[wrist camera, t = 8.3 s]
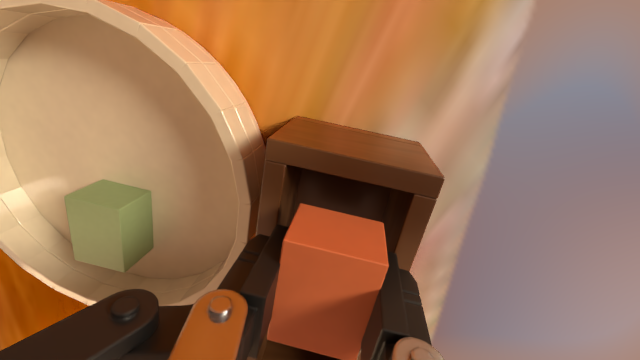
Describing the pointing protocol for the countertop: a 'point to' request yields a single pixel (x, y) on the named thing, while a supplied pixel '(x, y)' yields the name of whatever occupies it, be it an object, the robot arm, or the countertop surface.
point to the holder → (346, 190)
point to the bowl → (122, 145)
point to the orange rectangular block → (328, 281)
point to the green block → (110, 224)
